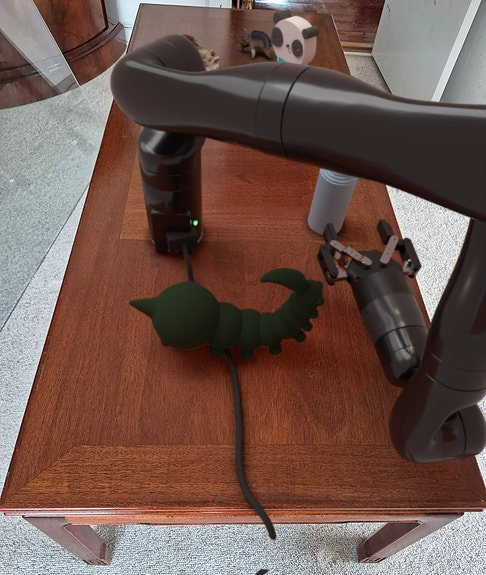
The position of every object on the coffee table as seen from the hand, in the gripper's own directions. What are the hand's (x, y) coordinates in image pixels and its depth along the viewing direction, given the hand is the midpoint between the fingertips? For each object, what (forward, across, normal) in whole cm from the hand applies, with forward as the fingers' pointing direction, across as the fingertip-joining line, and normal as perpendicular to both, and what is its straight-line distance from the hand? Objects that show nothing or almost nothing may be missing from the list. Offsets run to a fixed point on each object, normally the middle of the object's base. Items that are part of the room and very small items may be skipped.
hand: (354, 224), depth 72 cm
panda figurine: (+57, -3, +10) cm, 58 cm away
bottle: (+10, 0, +10) cm, 14 cm away
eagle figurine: (+71, +3, +10) cm, 72 cm away
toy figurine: (-13, +22, +10) cm, 27 cm away
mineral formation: (+59, +21, +10) cm, 64 cm away
